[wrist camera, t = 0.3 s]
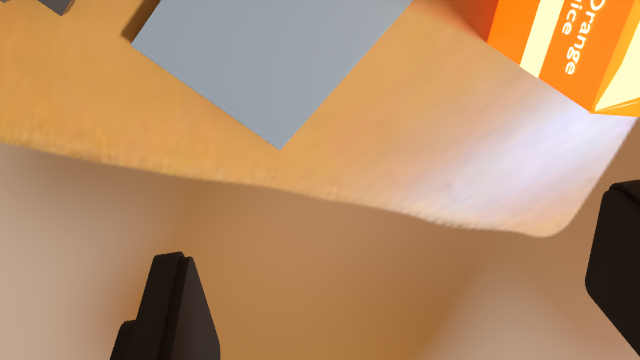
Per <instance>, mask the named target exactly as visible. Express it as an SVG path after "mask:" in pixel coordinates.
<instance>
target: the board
mask: <svg viewBox="0 0 640 360" xmlns="http://www.w3.org/2000/svg"><path fill="white" fill-rule="evenodd" d="M412 1H413V0H161V1H160V3H159V4H158V6H157V7H156V9H155V10H154V12H153V13H152V14H151V16H150V17H149V19H148V20H147V22H146V23H145V25H144V26H143V28H142V29H141V31H140V32H139V33H138V35H137V36H136V38H135V39H134V41H133V42H132V44H131V46H132V47H133V48H135V49H136V50H138V51H139V52H141V53H142V54H143V55H145V56H146V57H148V58H149V59H151V60H152V61H153V62H155V63H156V64H158V65H159V66H161V67H162V68H163V69H165V70H166V71H168V72H169V73H170V74H172V75H173V76H175V77H176V78H178V79H179V80H180V81H182V82H183V83H185V84H186V85H188V86H189V87H190V88H192V89H193V90H195V91H196V92H198V93H199V94H200V95H202V96H203V97H205V98H206V99H207V100H209V101H210V102H212V103H213V104H215V105H216V106H217V107H219V108H220V109H222V110H223V111H225V112H226V113H227V114H229V115H230V116H232V117H233V118H235V119H236V120H237V121H239V122H240V123H242V124H243V125H245V126H246V127H247V128H249V129H250V130H252V131H253V132H254V133H256V134H257V135H259V136H260V137H262V138H263V139H264V140H266V141H267V142H269V143H270V144H272V145H273V146H274V147H276V148H277V149H279V150H281V149H282V148H283V146H284V145H285V144H286V143H287V142H288V141H289V140H290V139H291V137H292V136H293V135H294V134H295V133H296V132H297V131H298V129H299V128H300V127H301V126H302V125H303V124H304V123H305V122H306V120H307V119H308V118H309V117H310V116H311V115H312V114H313V113H314V111H315V110H316V109H317V108H318V107H319V106H320V105H321V104H322V102H323V101H324V100H325V99H326V98H327V97H328V96H329V95H330V93H331V92H332V91H333V90H334V89H335V88H336V87H337V86H338V84H339V83H340V82H341V81H342V80H343V79H344V78H345V76H346V75H347V74H348V73H349V72H350V71H351V70H352V69H353V67H354V66H355V65H356V64H357V63H358V62H359V61H360V60H361V58H362V57H363V56H364V55H365V54H366V53H367V52H368V51H369V49H370V48H371V47H372V46H373V45H374V44H375V43H376V42H377V40H378V39H379V38H380V37H381V36H382V35H383V34H384V33H385V31H386V30H387V29H388V28H389V27H390V26H391V25H392V24H393V22H394V21H395V20H396V19H397V18H398V17H399V16H400V14H401V13H402V12H403V11H404V10H405V9H406V8H407V7H408V5H409V4H410V3H411V2H412Z"/></svg>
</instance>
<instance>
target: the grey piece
mask: <svg viewBox="0 0 640 360" xmlns="http://www.w3.org/2000/svg"><path fill="white" fill-rule="evenodd" d="M0 1H2V2H3V3H5V2H8V1H10V0H0ZM38 1H40V2H41V3H42V4H44V5H45V6H47V7H48V8H50V9H51V10H53V11H54V12H56V13H57V14H59V15H60V16H62V15H64V14H66V13H67V12H68V11H69V10H70V8H71V6H72V5H73V3H74V2H75V0H38Z"/></svg>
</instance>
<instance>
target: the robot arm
mask: <svg viewBox="0 0 640 360" xmlns="http://www.w3.org/2000/svg"><path fill="white" fill-rule="evenodd" d="M585 286H586V289H587V292H588V294H589V295H590V297H591V298H592V299H593V300H594V302H595V303H596V304H597V305H598V306H599V308H600V309H601V310H602V311H603V312H604V314H605V315H606V316H607V317H608V318H609V320H610V321H611V322H612V323H613V325H614V326H615V327H616V328H617V329H618V331H619V332H620V333H621V334H622V336H623V337H624V338H625V339H626V340H627V342H628V343H629V344H630V345H631V347H632V348H633V349H634V350H635V351H636V353H637V354H638V355H639V356H640V180H632V181H626V182H619V183H615V184H612V185H611V186H610V188H609V190H608V191H606V192H605V193H604V194H603V197H602V201H601V206H600V211H599V216H598V221H597V225H596V230H595V234H594V239H593V244H592V249H591V254H590V258H589V263H588V268H587V273H586V277H585ZM110 360H220V344H219V339H218V336H217V333H216V330H215V327H214V323H213V320H212V317H211V314H210V310H209V307H208V304H207V301H206V298H205V294H204V291H203V288H202V285H201V282H200V278H199V275H198V272H197V269H196V266H195V262H194V260H193V258H192V257H184V254H183V253H182V252H174V253H168V254H161V255H156V256H155V257H154V258H153V262H152V265H151V268H150V272H149V275H148V279H147V282H146V286H145V290H144V293H143V297H142V300H141V304H140V307H139V311H138V315H137V318H136V320H131V321H125V322H124V323H123V324H122V325H121V327H120V329H119V332H118V335H117V338H116V341H115V345H114V348H113V351H112V354H111V357H110Z"/></svg>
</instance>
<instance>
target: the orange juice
mask: <svg viewBox="0 0 640 360" xmlns="http://www.w3.org/2000/svg"><path fill="white" fill-rule="evenodd" d="M487 44H489V45H490V46H492V47H493V48H495V49H496V50H498V51H499V52H501V53H502V54H504V55H505V56H507V57H508V58H510V59H511V60H513V61H514V62H516V63H517V64H519V65H520V67H522V68H523V69H525V70H526V71H528V72H529V73H531V74H532V75H534V76H535V77H537V78H540V79H541V80H543V81H544V82H546V83H547V84H549V85H550V86H552V87H553V88H555V89H556V90H558V91H559V92H561V93H562V94H564V95H565V96H567V97H568V98H570V99H571V100H573V101H574V102H576V103H577V104H579V105H580V106H582V107H583V108H585V109H586V110H588V111H589V112H590V114H604V115H618V116H632V117H640V0H499V2H498V5H497V9H496V13H495V16H494V20H493V23H492V27H491V31H490V34H489V38H488V41H487Z"/></svg>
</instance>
